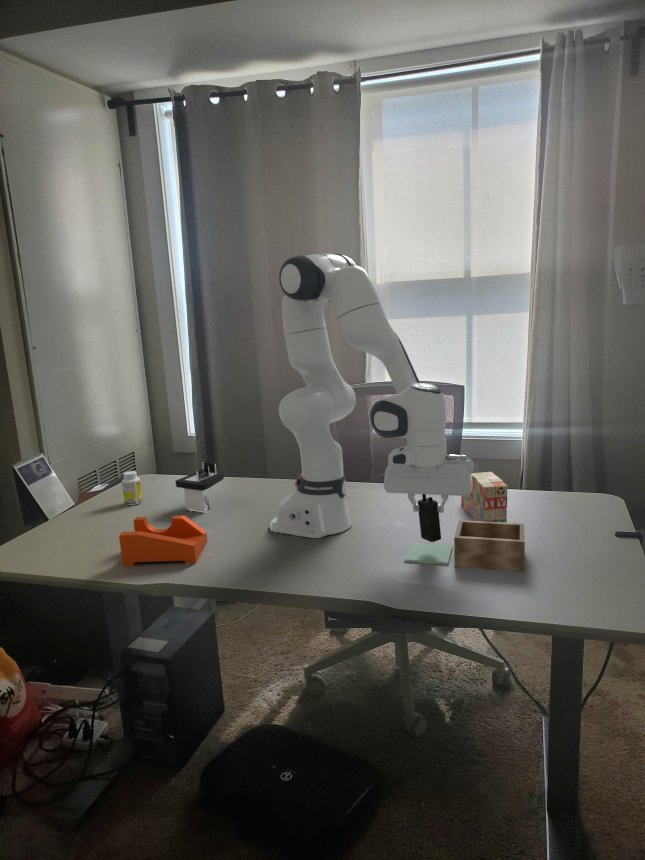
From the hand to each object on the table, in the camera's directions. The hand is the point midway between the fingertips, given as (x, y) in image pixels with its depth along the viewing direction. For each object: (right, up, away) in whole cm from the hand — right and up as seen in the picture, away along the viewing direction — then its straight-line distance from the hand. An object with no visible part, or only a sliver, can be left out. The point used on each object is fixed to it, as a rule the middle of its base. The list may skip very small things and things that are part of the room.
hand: (428, 511), depth 144 cm
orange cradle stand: (-64, -13, +11) cm, 66 cm away
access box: (+14, -11, -2) cm, 18 cm away
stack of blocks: (+19, -5, +25) cm, 32 cm away
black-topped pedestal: (-61, -5, +45) cm, 76 cm away
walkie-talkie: (+1, -7, +1) cm, 7 cm away
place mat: (+1, -11, +2) cm, 11 cm away
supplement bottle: (-85, -5, +53) cm, 100 cm away
